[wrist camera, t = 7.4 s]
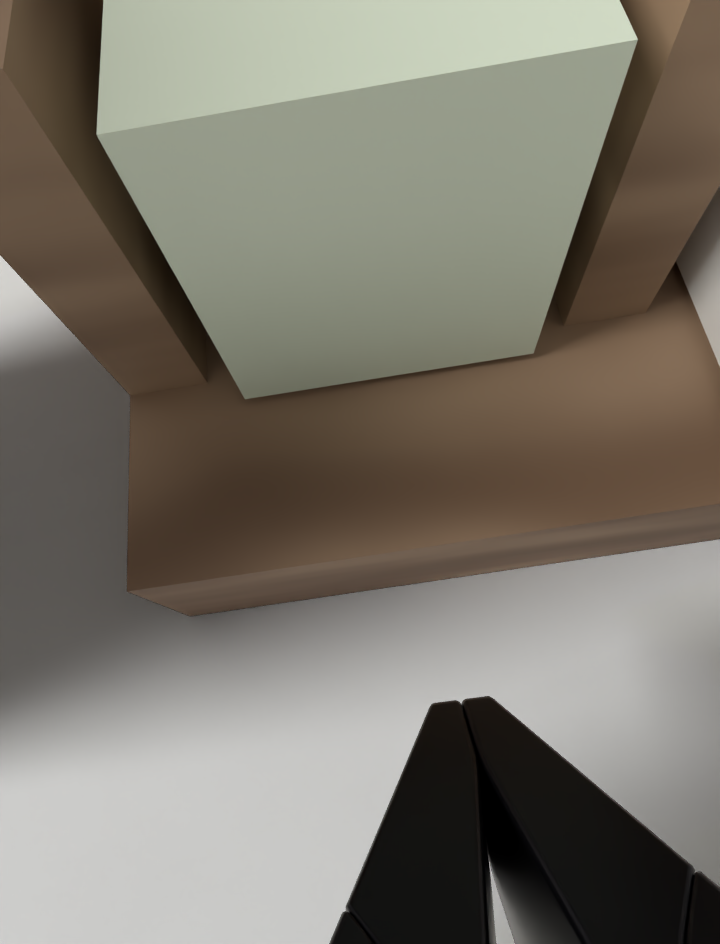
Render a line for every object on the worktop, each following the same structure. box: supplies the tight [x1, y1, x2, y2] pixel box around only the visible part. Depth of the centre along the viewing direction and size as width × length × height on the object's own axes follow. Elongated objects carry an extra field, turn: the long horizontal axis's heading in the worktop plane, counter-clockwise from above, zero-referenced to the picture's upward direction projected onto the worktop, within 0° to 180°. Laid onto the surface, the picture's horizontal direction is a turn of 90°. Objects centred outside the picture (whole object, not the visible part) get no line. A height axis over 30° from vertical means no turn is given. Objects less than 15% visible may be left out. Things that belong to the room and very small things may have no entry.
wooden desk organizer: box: [0, 0, 720, 616], centre depth 13 cm, size 15×24×13 cm, turn 97°
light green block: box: [96, 0, 638, 399], centre depth 12 cm, size 6×7×7 cm
